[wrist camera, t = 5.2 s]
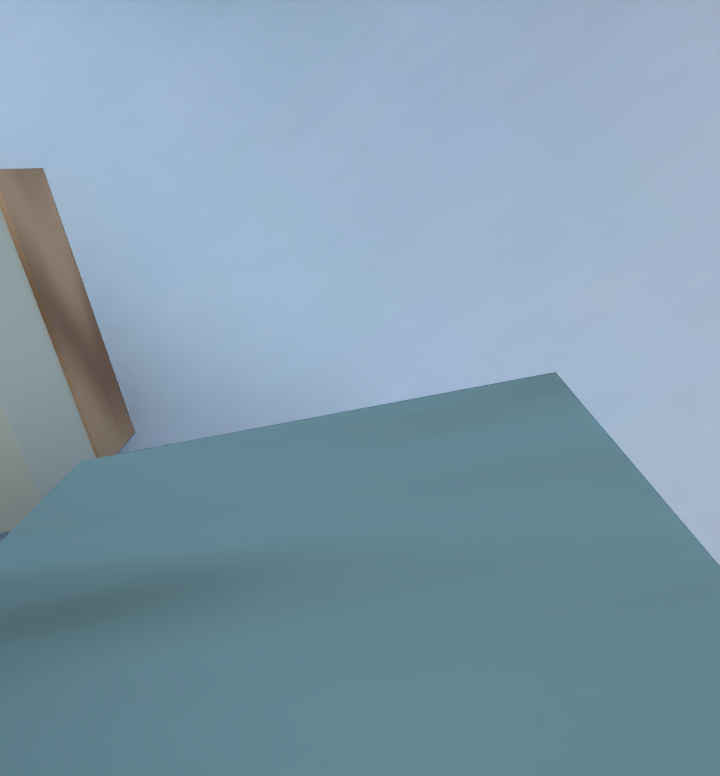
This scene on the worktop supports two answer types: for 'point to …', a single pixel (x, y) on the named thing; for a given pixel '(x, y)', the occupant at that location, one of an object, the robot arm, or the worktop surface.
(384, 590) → the teal cube
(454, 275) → the worktop surface
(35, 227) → the tower base
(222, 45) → the worktop surface
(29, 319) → the tower top
